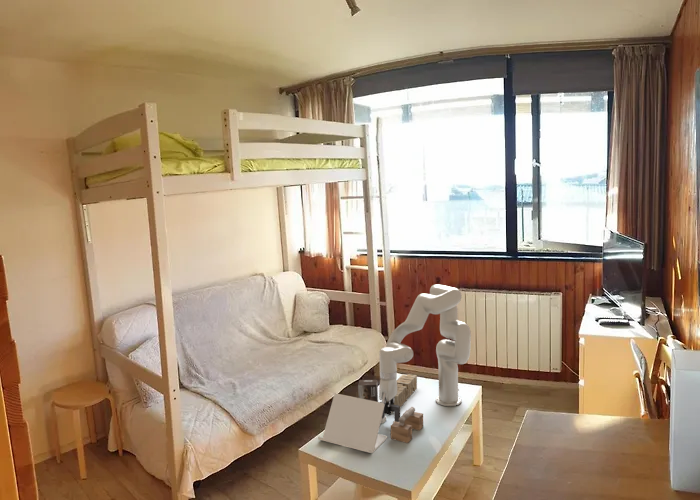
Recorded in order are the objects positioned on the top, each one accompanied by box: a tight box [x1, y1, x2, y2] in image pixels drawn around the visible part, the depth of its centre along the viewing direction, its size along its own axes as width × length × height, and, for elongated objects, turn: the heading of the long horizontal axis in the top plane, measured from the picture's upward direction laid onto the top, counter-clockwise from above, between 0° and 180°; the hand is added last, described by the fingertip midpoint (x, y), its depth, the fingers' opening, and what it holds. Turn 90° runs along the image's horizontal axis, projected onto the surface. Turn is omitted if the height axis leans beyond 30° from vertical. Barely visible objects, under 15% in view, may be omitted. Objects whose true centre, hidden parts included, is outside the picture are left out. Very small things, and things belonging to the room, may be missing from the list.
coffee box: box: [357, 379, 379, 402], centre depth 250 cm, size 9×6×16 cm
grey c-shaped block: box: [380, 401, 401, 424], centre depth 241 cm, size 4×11×9 cm, turn 59°
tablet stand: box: [317, 393, 388, 454], centre depth 226 cm, size 18×25×17 cm
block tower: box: [386, 373, 418, 409], centre depth 268 cm, size 8×8×29 cm
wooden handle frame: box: [390, 406, 424, 444], centre depth 231 cm, size 17×8×10 cm, turn 149°
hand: (389, 412), depth 241 cm, fingers open, 2 cm apart
